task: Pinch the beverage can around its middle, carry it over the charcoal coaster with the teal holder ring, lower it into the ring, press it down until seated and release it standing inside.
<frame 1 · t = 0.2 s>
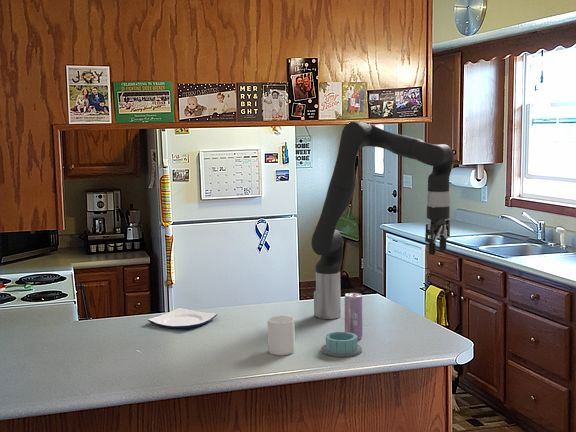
hand: (437, 252, 241), 29 cm above the counter, fingers open, 8 cm apart
holder: (341, 350, 230), on the counter
beverage can: (353, 338, 243), on the counter
plate: (183, 323, 266), on the counter
mug: (280, 350, 232), on the counter
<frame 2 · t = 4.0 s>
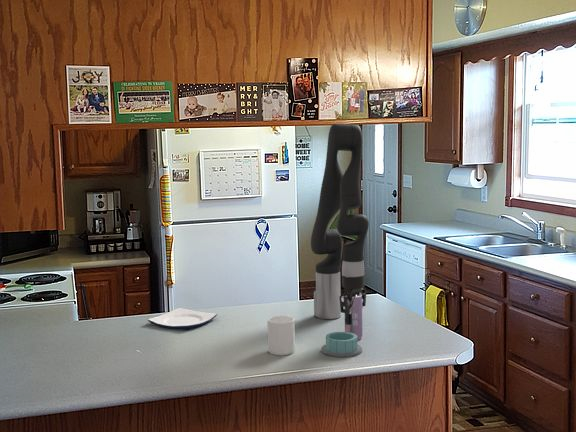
hand: (353, 321, 243), 6 cm above the counter, fingers closed on beverage can, 6 cm apart
beverage can: (353, 338, 243), on the counter, touching gripper
everything else where it was.
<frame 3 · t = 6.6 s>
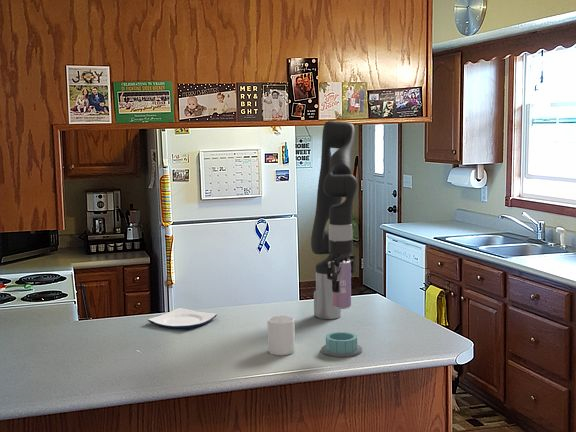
hand: (341, 289, 227), 20 cm above the counter, fingers closed on beverage can, 6 cm apart
beverage can: (341, 307, 228), point 14 cm above the counter, touching gripper
everything else where it was.
when the fingers open (7 cm above the counter, at t = 9.4 s): beverage can stays where it is, resting on holder.
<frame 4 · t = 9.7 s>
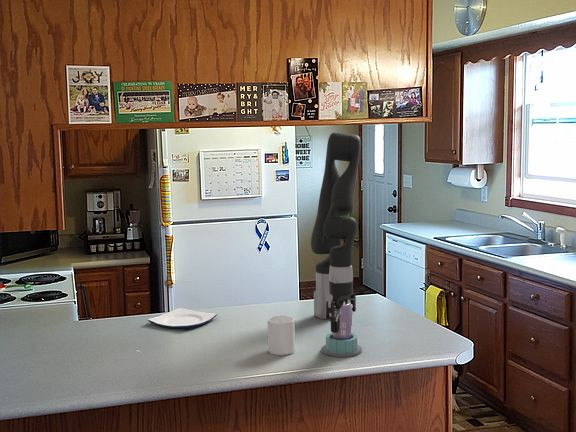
hand: (341, 329, 229), 7 cm above the counter, fingers open, 8 cm apart
beverage can: (341, 348, 230), point 1 cm above the counter, touching holder
everything else where it was.
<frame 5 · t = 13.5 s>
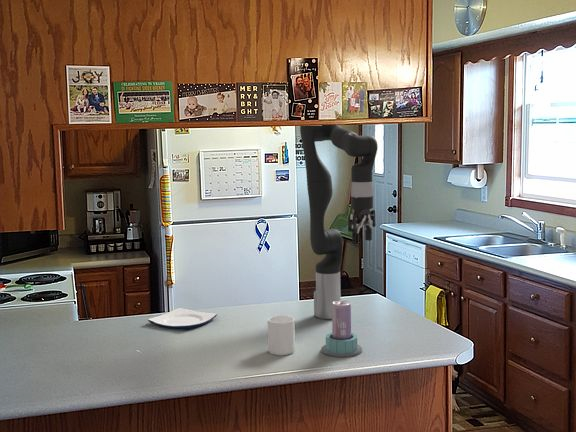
hand: (362, 242, 244), 32 cm above the counter, fingers open, 8 cm apart
nothing on the counter moved.
at the end: beverage can 0.2 cm off-centre on the holder, point 0.6 cm above the holder's base; beverage can tilted 0°; the gripper is holding nothing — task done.
